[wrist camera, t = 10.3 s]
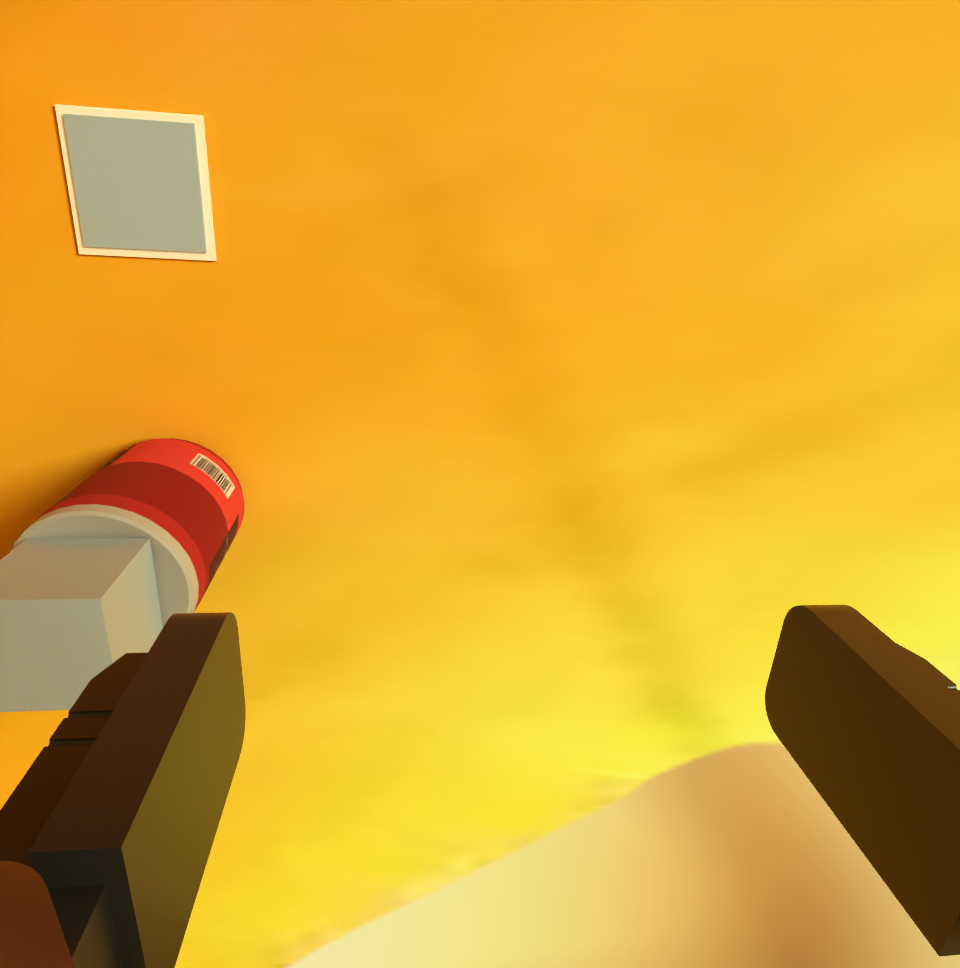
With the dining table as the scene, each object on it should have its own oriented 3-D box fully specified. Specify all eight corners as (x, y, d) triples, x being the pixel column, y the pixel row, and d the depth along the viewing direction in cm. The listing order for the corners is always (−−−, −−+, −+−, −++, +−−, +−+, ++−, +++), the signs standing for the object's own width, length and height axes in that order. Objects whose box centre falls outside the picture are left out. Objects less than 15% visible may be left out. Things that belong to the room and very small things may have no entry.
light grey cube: (26, 538, 28) (-49, 600, 23) (149, 538, 28) (100, 598, 24) (48, 636, 29) (-18, 712, 25) (163, 634, 30) (120, 708, 25)
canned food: (109, 423, 37) (-2, 497, 27) (253, 446, 38) (200, 524, 28) (108, 541, 40) (6, 649, 29) (243, 558, 41) (190, 667, 31)
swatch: (56, 104, 31) (52, 103, 31) (203, 116, 32) (201, 114, 32) (80, 254, 34) (77, 254, 33) (216, 260, 34) (214, 261, 34)
